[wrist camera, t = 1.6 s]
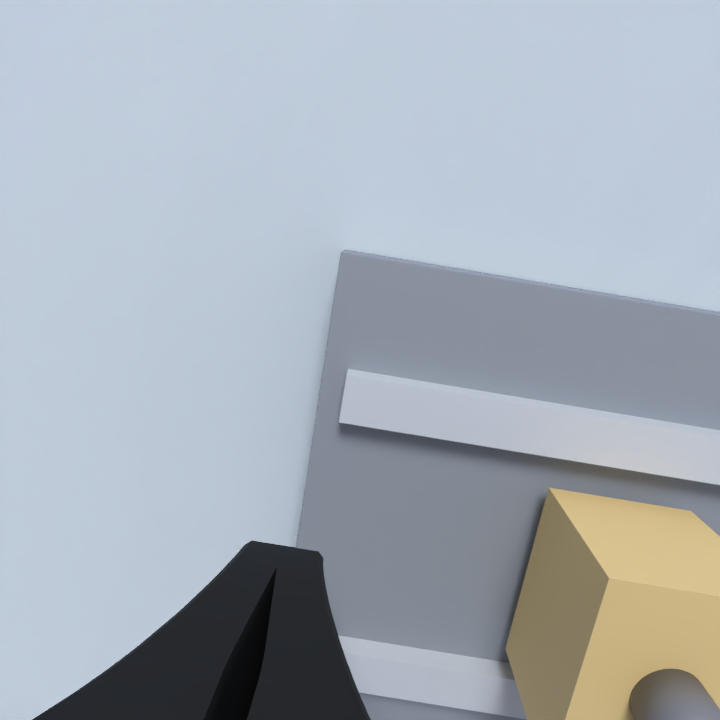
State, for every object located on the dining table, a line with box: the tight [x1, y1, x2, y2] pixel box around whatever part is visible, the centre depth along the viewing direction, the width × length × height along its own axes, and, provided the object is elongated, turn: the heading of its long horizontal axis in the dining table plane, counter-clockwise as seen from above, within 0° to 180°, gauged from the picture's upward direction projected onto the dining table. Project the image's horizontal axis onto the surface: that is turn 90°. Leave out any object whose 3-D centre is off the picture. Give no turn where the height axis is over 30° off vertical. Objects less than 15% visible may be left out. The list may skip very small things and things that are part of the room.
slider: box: [505, 488, 720, 720], centre depth 10 cm, size 3×4×4 cm
